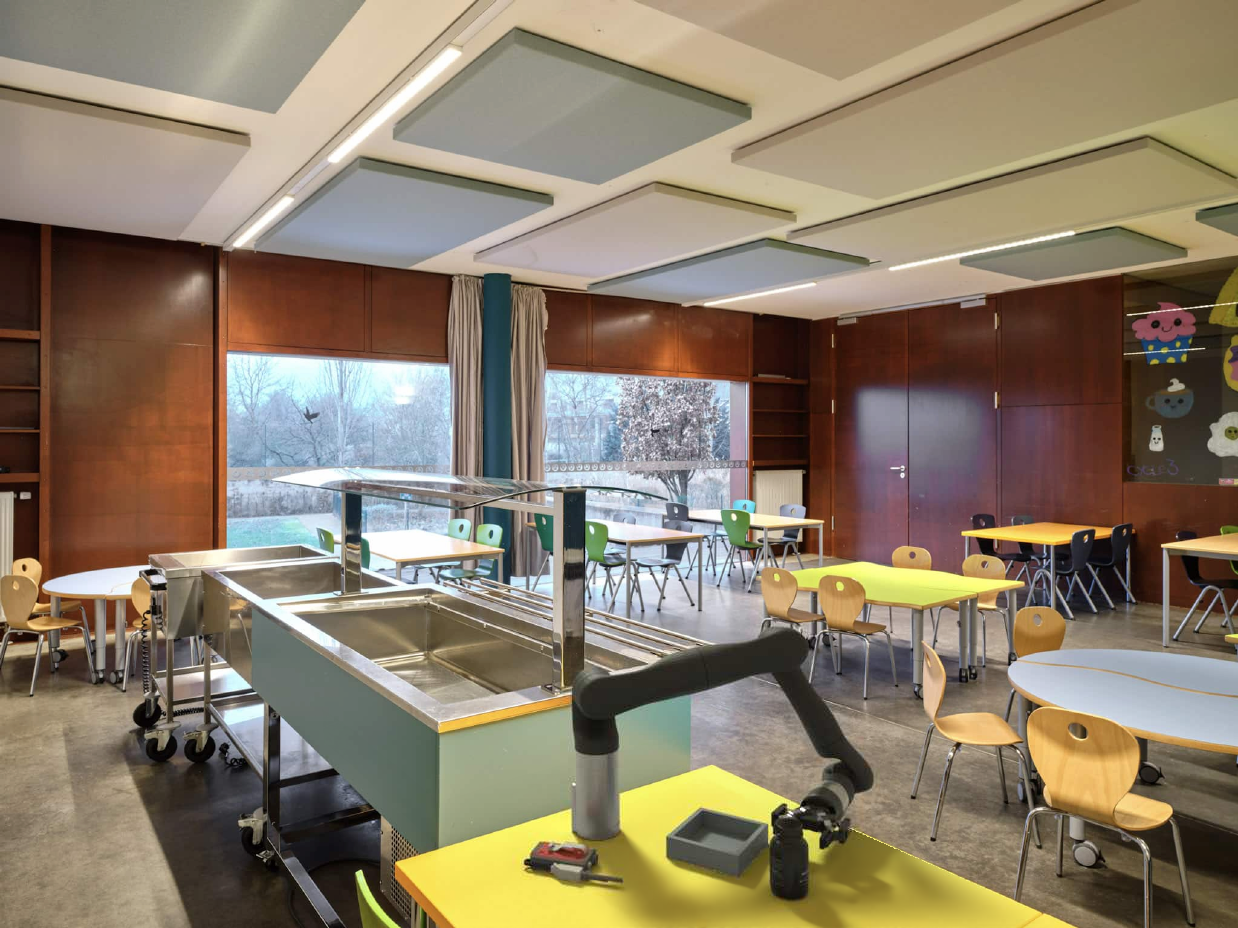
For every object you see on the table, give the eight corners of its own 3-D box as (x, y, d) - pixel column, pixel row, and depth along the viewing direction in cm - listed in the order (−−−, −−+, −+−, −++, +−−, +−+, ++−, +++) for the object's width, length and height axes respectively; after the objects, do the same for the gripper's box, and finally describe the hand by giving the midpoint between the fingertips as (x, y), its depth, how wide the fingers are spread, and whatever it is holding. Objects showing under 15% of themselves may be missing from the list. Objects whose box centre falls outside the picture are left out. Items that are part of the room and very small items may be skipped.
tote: (666, 857, 153) (666, 836, 153) (700, 826, 166) (700, 807, 166) (738, 877, 145) (738, 856, 145) (768, 843, 158) (768, 823, 158)
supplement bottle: (813, 901, 137) (812, 832, 137) (773, 901, 137) (772, 832, 137) (804, 880, 144) (803, 814, 144) (766, 880, 144) (766, 815, 144)
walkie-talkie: (518, 875, 148) (621, 891, 142) (518, 852, 148) (620, 867, 142) (537, 853, 156) (634, 867, 150) (536, 830, 156) (634, 844, 150)
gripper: (790, 779, 163) (761, 809, 149) (860, 794, 155) (836, 827, 141) (791, 816, 163) (761, 849, 149) (861, 832, 155) (837, 869, 142)
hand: (798, 838), depth 145 cm, fingers open, 8 cm apart
